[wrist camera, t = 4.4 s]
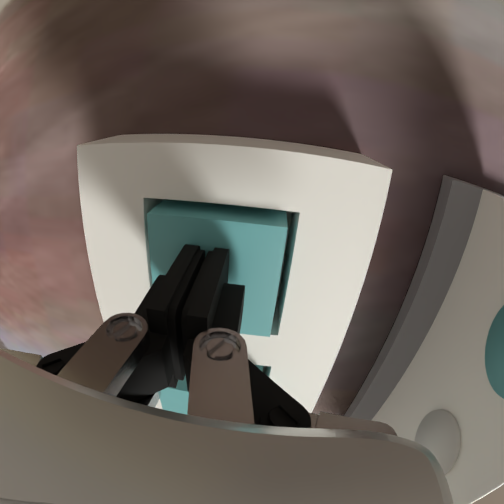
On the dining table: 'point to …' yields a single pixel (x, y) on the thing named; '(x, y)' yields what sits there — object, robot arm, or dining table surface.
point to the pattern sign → (450, 346)
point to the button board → (252, 195)
